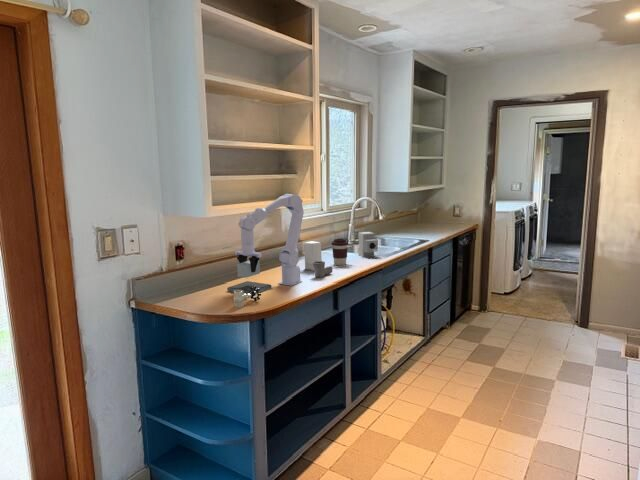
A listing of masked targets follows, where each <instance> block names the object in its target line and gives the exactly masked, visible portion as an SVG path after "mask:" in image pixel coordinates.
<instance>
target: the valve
mask: <svg viewBox="0 0 640 480" xmlns="http://www.w3.org/2000/svg"><path fill="white" fill-rule="evenodd" d="M253 288H254V289H253ZM250 290H251V291H250V292H249V293H248V294H245V293H244V294H243V291H242V290H235V291H234V292H233V298H232V300H233V303H234V305H233V306H234V307H235V308H239V309H240V308H242V307H244V301H247V300H248V299H249V298H250V299H253V302H257V301H260V300H261V298H260V297H261V296H262V292H260V293H259V291H260V289H259V288H258V289H256V286H253V287H251V288H250ZM253 290H256V292H253Z"/></svg>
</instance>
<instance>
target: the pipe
mask: <svg viewBox="0 0 640 480" xmlns="http://www.w3.org/2000/svg"><path fill="white" fill-rule="evenodd" d="M325 263H326V261H325V260H324V261H316V262H313V266H314V270H315V271H314V277H315V278H323V277H325V276H326V275H329V274H331V273H333V267H332V266H331V265H330V266H326V267H325V265H326V264H325Z"/></svg>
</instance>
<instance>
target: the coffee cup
mask: <svg viewBox="0 0 640 480" xmlns="http://www.w3.org/2000/svg"><path fill="white" fill-rule="evenodd" d="M331 245H332V258H333V264H334V265H335V266H345V265H347V257H348V245H349V241H347V239H345V238H334V239H333V241H331Z"/></svg>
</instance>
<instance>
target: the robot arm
mask: <svg viewBox="0 0 640 480" xmlns="http://www.w3.org/2000/svg"><path fill="white" fill-rule="evenodd" d="M283 207H285V208H286V209H288V210H289V212H290V213H291V218H290V223H289V226H288V227H289V228H288V232H287V237H286V243H285V246H283V248H282V249H281V252H280V254H279V255H278V259H279V262H280V263H281V281H280V282H278V285H285V286H291V287H292V286H295V285H297V284H299V283H303V281H302V279H301V268H300V265H298V263H299V250H298V248H297V246H298V243H299V237H300V233H301V228H302V222H303V218H304V212H305V211H304V208H303V199H302V198H301V196H300V195H299V194H291V193H285V194H283V195H281V196H279V197H278V198H276V199H275V200H274V201H272V202H270V203H269V204H268V205H266V206H265V207H264V208H262V207H259V208H258V207H256V208H255V209H254V211H252V212H251V213H248V214H246V216H242V217H241V218H240V220H239V221H238V226H239V228H240V239H241V241H240V242H241V250H235V251H234V255H235V256H236V259H237V261H238V264H239V263H242V262H246V261H250V264H251V272H255V271H256V266H257V263H258V261H259V262H260V259H261V258H262V257H263V255H262V252H258V251H255V240H254V239H255V237H254V236H255V235H254V229H255V228H256V225H258V224H260V223H261V222H263V221H264V220H266V219H267V218H268V215H269V214H270V213H273V212H274V211H276V210H277V209H280V208H283Z"/></svg>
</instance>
